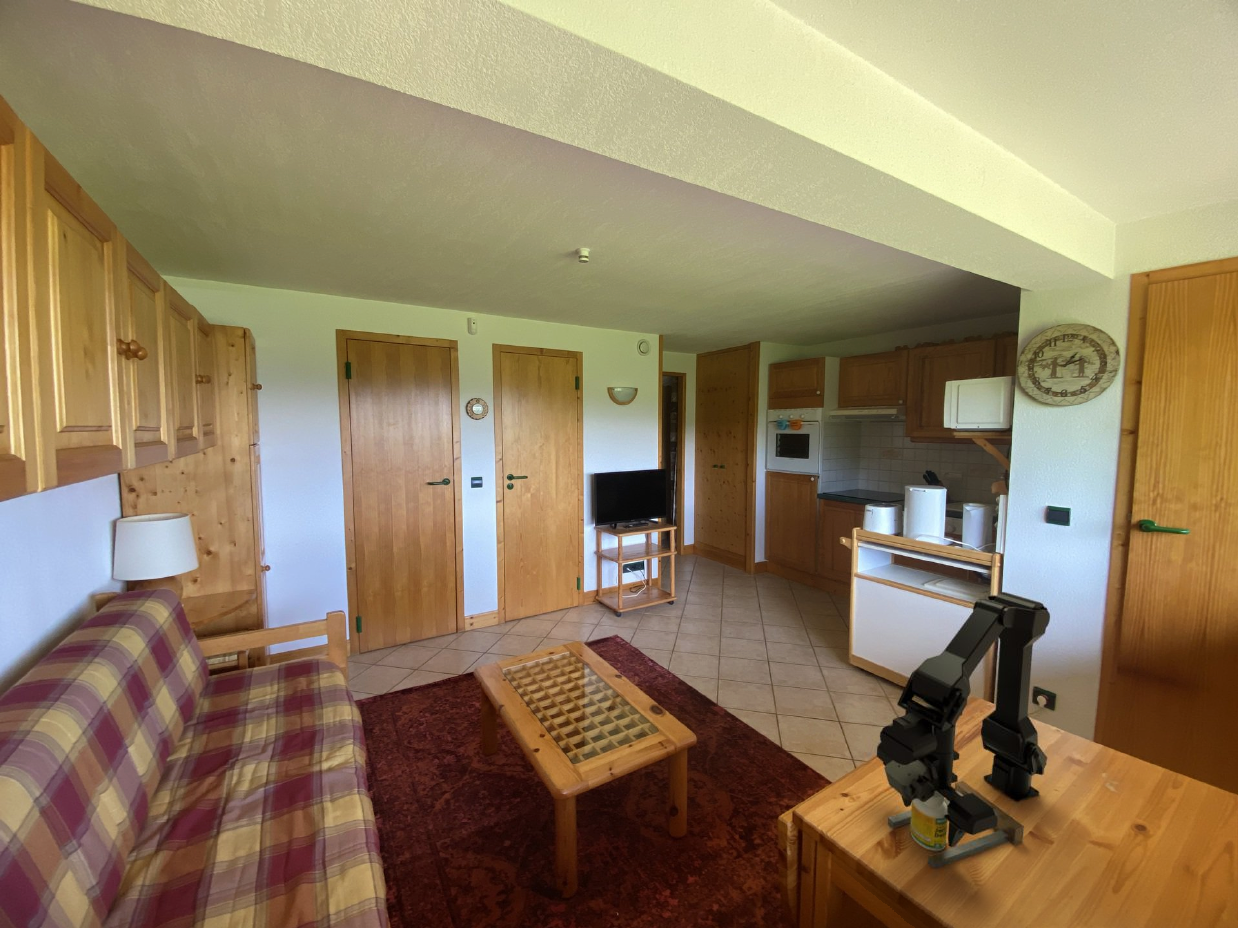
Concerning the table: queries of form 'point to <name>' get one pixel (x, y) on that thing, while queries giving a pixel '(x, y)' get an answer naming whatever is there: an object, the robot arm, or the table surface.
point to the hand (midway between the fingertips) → (928, 824)
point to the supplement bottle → (929, 822)
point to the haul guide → (1005, 833)
